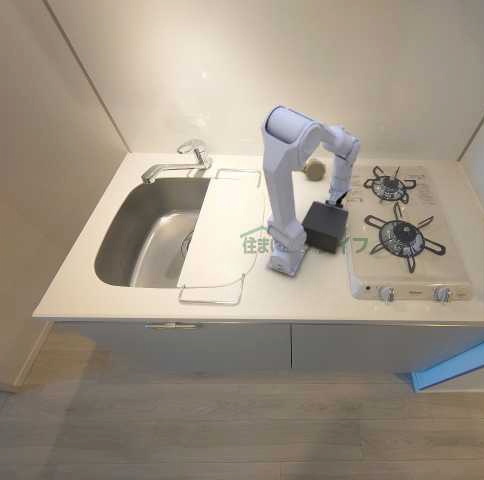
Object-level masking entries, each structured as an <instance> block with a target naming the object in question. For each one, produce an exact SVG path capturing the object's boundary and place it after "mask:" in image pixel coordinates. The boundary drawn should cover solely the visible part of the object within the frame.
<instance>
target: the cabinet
mask: <svg viewBox="0 0 484 480" xmlns="http://www.w3.org/2000/svg"><path fill="white" fill-rule="evenodd" d="M318 202H319V201H318ZM318 202H316V201H314V200H313V201H312V203H311V205H310V207H309V208H308V210H307V212H306V215H305V216H304V217H303V220H302V222H301V223H300V224H301V225H302V226H303V228H304V231H305V232H306V241H305V243H304V245H308V246H311V247H313V248H317V249H320V250H322V251H326V252H328V253H330V254H334V255H335V254H336V253H337V250H338V248H339V245H340V243H341V240H342V238H343V235H344V233H345V231H346V227H347V222H348V219H349V218H348V217H349V213H350V211H349V210H348V211H344V210H345V209H344V210H341V209H338V208H335V207H331V206H328V205H325V204H321V203H322V202H321V203H318Z"/></svg>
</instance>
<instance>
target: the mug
mask: <svg viewBox="0 0 484 480" xmlns="http://www.w3.org/2000/svg"><path fill="white" fill-rule="evenodd" d="M307 161H308V162H307V164H306V165H305V164H304V165H303V166H302V168H301V170H302V171H303V172H305V174H306V176H307V177H308V178H309V179H310V180H313V181H318V180H321V179H322V178H323V177H324V175H325V174H326V167H325V164H324V163H323V162H322V161H320V160H318V158H316V157H311V158H309V159H308V160H307Z"/></svg>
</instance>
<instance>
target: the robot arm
mask: <svg viewBox="0 0 484 480" xmlns="http://www.w3.org/2000/svg"><path fill="white" fill-rule="evenodd" d="M260 132H261V136H262V143H263V157H262V171H263V176H264V181H265V185H266V189H267V193H268V198H269V203H270V208H271V213H272V214H271V215H270V216H269V217H268V219H267V220H266V222H267V226H266V234H267V235H269V236H271V238H272V239H271V240H273V251H272V253H271V254H270V256H269V260H270V263H269V265H268V267H269V269H272V270H275V271H278V272H280V273H282V274H286V275H289V276H291V277H294V276H295V273H296V272H297V269H298V267H299V266H300V264H301V261H302V260H303V257H304V256H305V253H306V251H305V249H302V247H304V245H305V241H306V232H305V231H304V228H303V226H302V225H301V224H302V223H301V222H300V221H299V220H298V218H297V214H296V201H295V193H294V181H293V172H299V171H300V170H302V168H303V167H304V166H305V164H306V163H307V161H309V160H310V157H311V156H312V155H313V154H314V152H315V151H317V148H318V147H319V146H320V144H321V146H322V148H323V149H324V150H325V151H327V152H330V153H332V154H333V159H332V169H331V178H330V182H329V189H328V194H329V198H328V200H329V204H331V205H335V204H336V203H340V204H342V202H343V200H344V199H345V198H346V197H347V195H348V192H352V191H353V189H354V186H353V185H352V184H351V178H352V174H353V167H354V164H355V163H356V161H357V158H358V156H359V153H360V151H361V149H362V143H361V142H360V139H358V138H356V137H354V136H352V135H351V132H350V131H348V130H345V127H344V126H343V125H340V124H337V125H331V126H328V125H326V124H325V123H324V122H323V121H321V120H319V119H317V118H315V117H313V116H311V115H308V114H306V113H304V112H301V111H298V110H295V109H292V108H286V106H283V105H281V104H277V105H274V106H273V107H272V108H270V109H269V111H268V112H267V114H266V116H265V117H264V120H263V122H262V124H261V126H260Z"/></svg>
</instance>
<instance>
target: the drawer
mask: <svg viewBox="0 0 484 480" xmlns="http://www.w3.org/2000/svg"><path fill="white" fill-rule="evenodd" d="M315 202H318V203H321V204H325V205H328V206H331V207H335V208H338V209H341V210H344V211H348V212H349V210H347V209H345V208H344V206H345V204H343V203H341V204H340V203H336V204H335V205H331V204H329V199H326V200H325V202H321V201H319V200H316V201H315Z"/></svg>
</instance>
